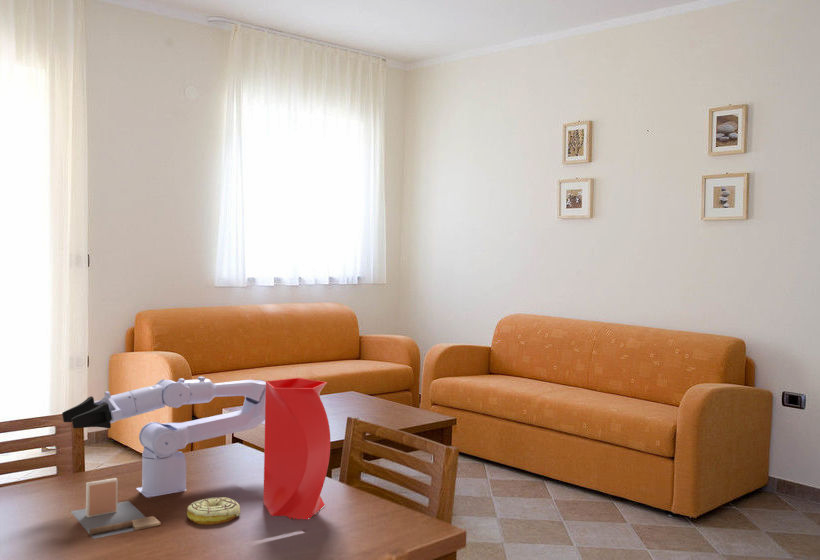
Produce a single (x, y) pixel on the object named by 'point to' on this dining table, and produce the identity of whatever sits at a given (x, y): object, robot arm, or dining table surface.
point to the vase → (295, 447)
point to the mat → (109, 519)
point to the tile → (101, 497)
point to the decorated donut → (213, 510)
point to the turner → (127, 525)
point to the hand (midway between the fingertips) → (67, 420)
